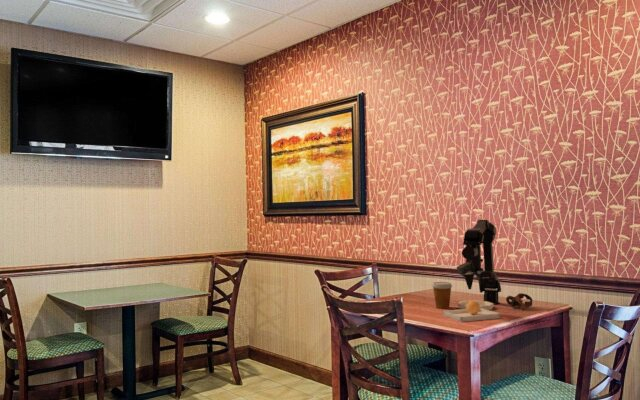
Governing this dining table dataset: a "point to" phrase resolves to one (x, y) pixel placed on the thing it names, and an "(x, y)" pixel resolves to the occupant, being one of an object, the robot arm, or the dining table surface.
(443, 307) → the disposable coffee cup
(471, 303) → the ball
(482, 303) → the bowl
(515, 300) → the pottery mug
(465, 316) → the tray
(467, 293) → the dining table surface
